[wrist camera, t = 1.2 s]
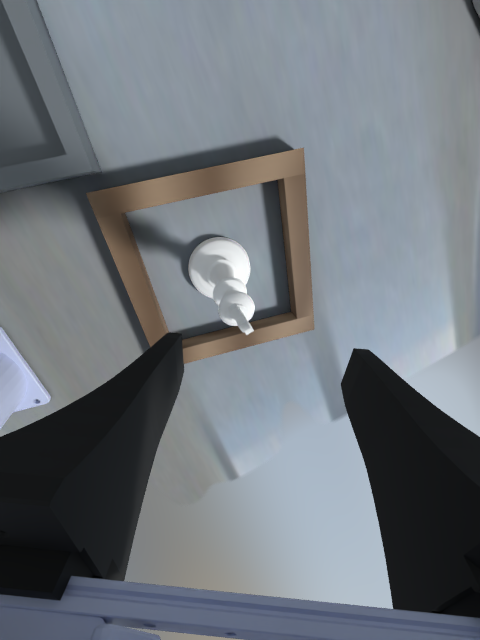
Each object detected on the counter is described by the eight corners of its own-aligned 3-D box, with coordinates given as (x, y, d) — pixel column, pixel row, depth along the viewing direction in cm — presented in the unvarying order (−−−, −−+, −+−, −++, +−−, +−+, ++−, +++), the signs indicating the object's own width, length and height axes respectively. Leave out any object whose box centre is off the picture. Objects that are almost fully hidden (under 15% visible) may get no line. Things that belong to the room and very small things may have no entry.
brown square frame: (161, 359, 25) (160, 370, 23) (93, 192, 18) (85, 193, 16) (307, 321, 26) (314, 329, 24) (295, 149, 19) (303, 147, 18)
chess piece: (211, 307, 23) (229, 384, 14) (175, 260, 21) (169, 318, 12) (260, 275, 23) (309, 334, 14) (228, 223, 20) (262, 255, 12)
